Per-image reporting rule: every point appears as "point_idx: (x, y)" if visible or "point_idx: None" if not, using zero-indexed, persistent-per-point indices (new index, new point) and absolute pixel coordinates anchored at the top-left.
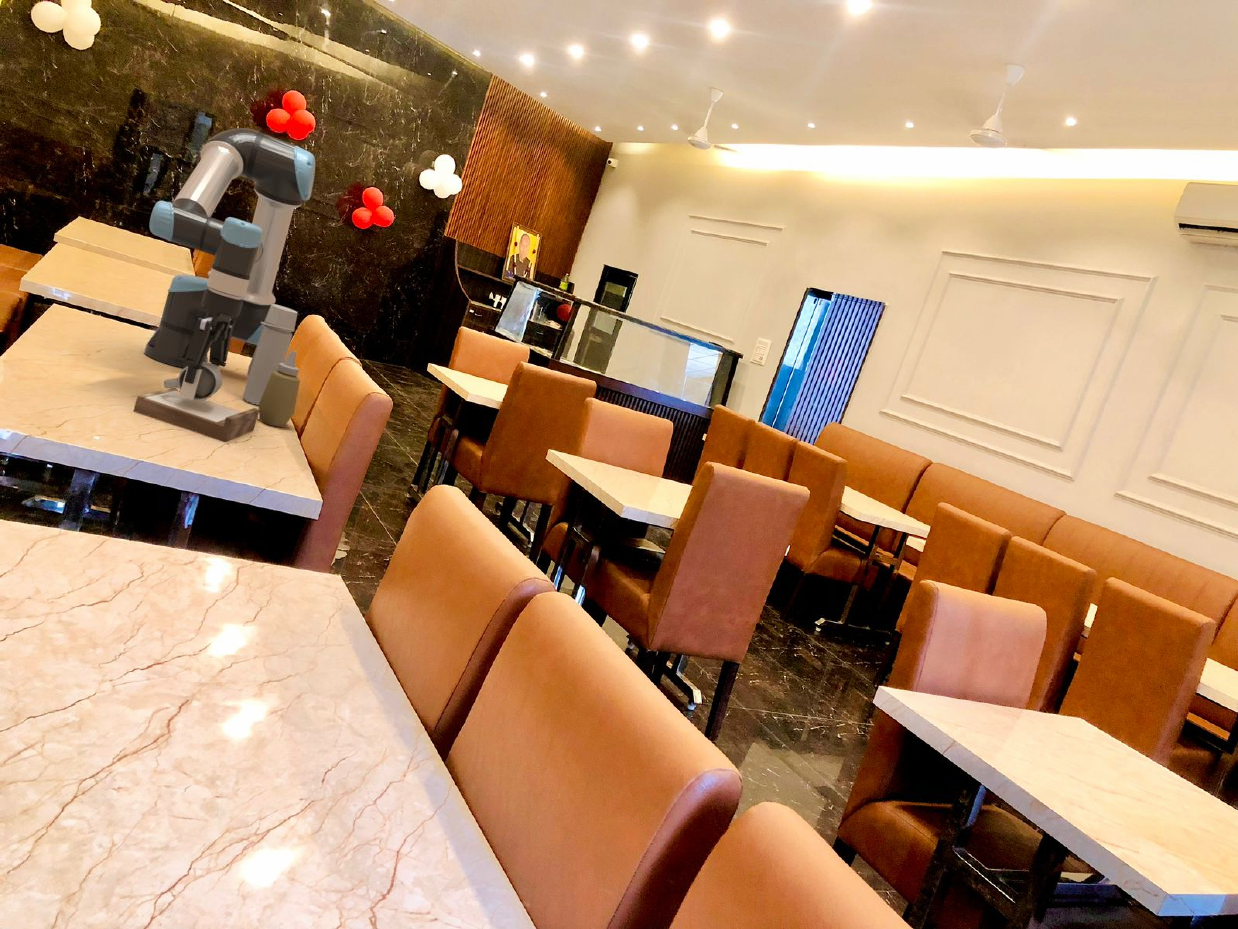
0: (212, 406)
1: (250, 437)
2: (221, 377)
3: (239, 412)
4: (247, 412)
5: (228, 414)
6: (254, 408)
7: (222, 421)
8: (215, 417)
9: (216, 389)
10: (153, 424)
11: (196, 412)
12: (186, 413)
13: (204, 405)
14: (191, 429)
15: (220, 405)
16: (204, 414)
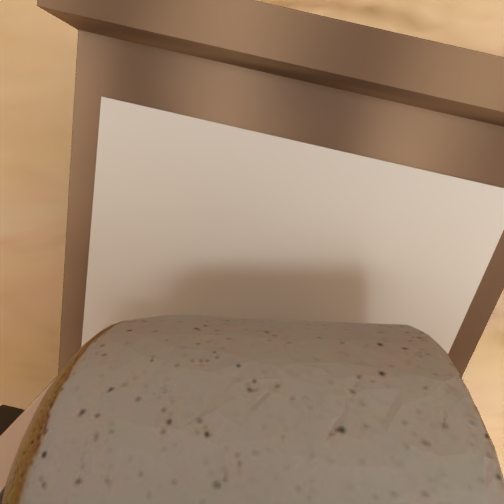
0: (167, 272)
1: (287, 7)
2: (149, 399)
3: (107, 118)
4: (270, 26)
5: (246, 166)
6: (57, 1)
7: (440, 169)
8: (412, 217)
9: (425, 340)
10: (495, 401)
11: (406, 316)
12: (463, 349)
13: (199, 308)
14: None
15: (68, 242)
16: (408, 277)
